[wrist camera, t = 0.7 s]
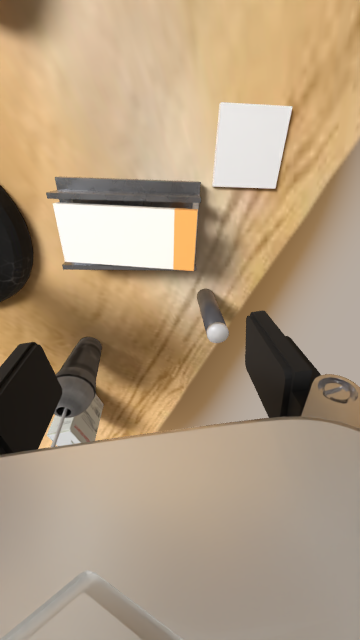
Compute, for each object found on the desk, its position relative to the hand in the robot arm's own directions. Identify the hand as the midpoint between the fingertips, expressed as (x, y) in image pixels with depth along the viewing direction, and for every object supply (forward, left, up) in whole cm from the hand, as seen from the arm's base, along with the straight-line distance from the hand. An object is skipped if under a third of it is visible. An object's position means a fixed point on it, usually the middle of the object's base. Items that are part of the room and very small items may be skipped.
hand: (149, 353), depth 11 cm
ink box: (+37, -17, -31) cm, 51 cm away
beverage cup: (+23, -14, -31) cm, 41 cm away
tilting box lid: (0, -4, -23) cm, 23 cm away
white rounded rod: (+12, +8, -31) cm, 34 cm away
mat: (-10, +12, -31) cm, 35 cm away
